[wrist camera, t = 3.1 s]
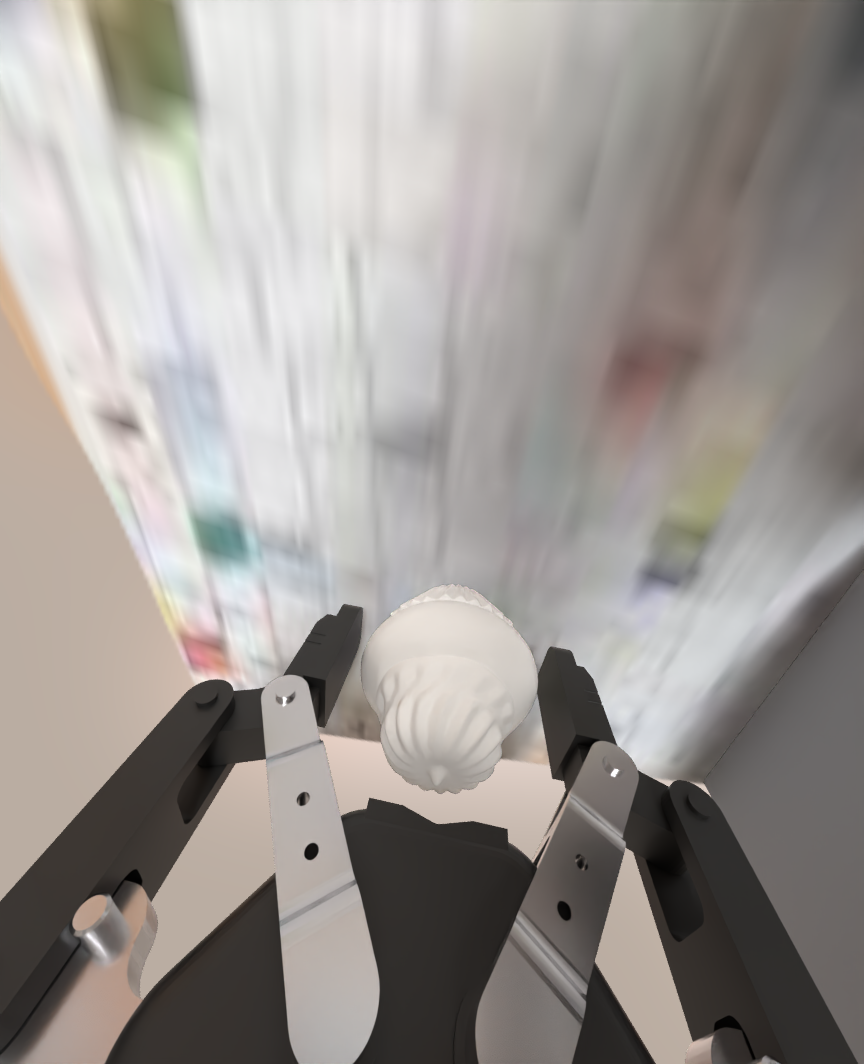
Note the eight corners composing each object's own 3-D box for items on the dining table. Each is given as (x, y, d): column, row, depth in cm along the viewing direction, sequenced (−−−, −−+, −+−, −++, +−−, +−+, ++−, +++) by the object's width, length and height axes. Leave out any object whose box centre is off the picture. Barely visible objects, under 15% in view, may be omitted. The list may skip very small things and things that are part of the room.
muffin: (369, 561, 15) (287, 708, 8) (518, 543, 13) (551, 699, 7) (403, 669, 17) (359, 844, 11) (530, 662, 16) (564, 854, 10)
